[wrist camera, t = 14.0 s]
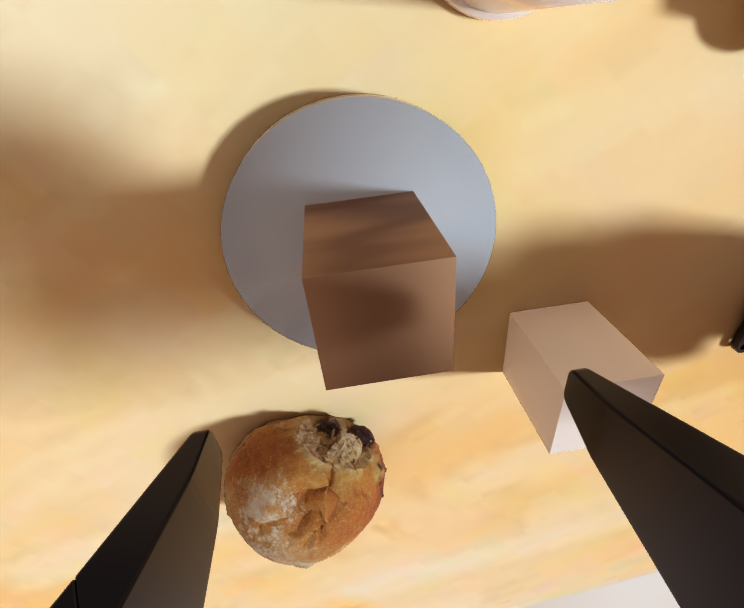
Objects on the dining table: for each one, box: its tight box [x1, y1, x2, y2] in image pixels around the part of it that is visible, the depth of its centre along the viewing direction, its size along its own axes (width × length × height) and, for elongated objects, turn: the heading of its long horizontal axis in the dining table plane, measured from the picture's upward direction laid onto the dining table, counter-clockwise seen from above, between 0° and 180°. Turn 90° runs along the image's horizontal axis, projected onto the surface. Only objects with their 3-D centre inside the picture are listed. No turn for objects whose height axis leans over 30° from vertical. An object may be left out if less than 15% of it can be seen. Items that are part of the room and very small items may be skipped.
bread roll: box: [224, 415, 387, 568], centre depth 26 cm, size 10×10×8 cm
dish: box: [221, 94, 496, 349], centre depth 18 cm, size 12×12×1 cm
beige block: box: [503, 301, 664, 454], centre depth 21 cm, size 4×4×6 cm
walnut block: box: [302, 191, 456, 390], centre depth 15 cm, size 4×4×6 cm
